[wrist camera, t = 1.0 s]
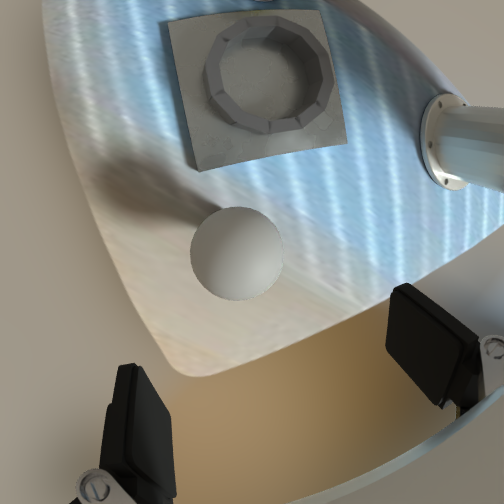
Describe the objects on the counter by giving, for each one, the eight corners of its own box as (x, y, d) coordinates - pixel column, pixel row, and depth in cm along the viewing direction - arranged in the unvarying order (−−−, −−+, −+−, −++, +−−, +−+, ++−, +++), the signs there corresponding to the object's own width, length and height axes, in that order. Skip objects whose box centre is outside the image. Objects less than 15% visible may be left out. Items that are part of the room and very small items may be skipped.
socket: (304, 26, 20) (318, 15, 18) (326, 125, 24) (342, 124, 22) (194, 36, 19) (196, 23, 16) (217, 143, 23) (221, 143, 20)
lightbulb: (175, 211, 25) (170, 256, 15) (235, 176, 25) (271, 199, 15) (209, 265, 28) (226, 335, 18) (265, 233, 28) (312, 286, 18)
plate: (315, 13, 21) (319, 10, 20) (342, 143, 26) (347, 143, 25) (168, 26, 19) (167, 22, 18) (198, 171, 24) (198, 172, 24)
